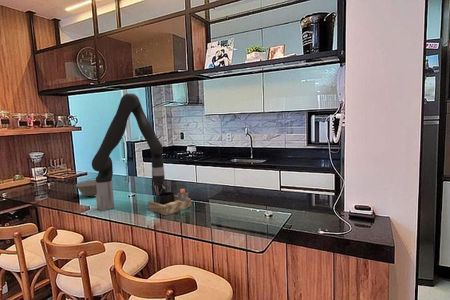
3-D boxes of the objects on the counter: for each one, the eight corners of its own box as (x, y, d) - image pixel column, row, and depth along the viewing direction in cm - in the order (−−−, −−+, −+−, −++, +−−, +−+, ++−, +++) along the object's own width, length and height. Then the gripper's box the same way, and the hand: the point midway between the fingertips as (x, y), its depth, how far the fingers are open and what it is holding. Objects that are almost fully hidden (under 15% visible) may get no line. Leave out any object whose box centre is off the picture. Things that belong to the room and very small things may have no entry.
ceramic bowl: (69, 199, 208) (68, 185, 207) (91, 191, 230) (90, 179, 229) (96, 200, 202) (95, 186, 201) (116, 191, 225) (115, 179, 224)
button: (182, 196, 172) (182, 190, 171) (179, 196, 173) (179, 189, 173) (186, 195, 174) (185, 189, 173) (183, 194, 176) (182, 188, 175)
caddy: (165, 215, 162) (164, 199, 161) (148, 209, 174) (147, 195, 173) (191, 206, 176) (190, 192, 175) (174, 202, 188) (173, 188, 187)
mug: (180, 205, 180) (179, 191, 179) (170, 211, 169) (168, 196, 168) (167, 204, 183) (166, 190, 182) (156, 210, 172) (155, 195, 171)
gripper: (146, 174, 181) (148, 201, 183) (159, 176, 173) (161, 204, 174) (157, 172, 187) (158, 198, 189) (169, 174, 178) (171, 201, 180)
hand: (159, 201), depth 182 cm, fingers closed
